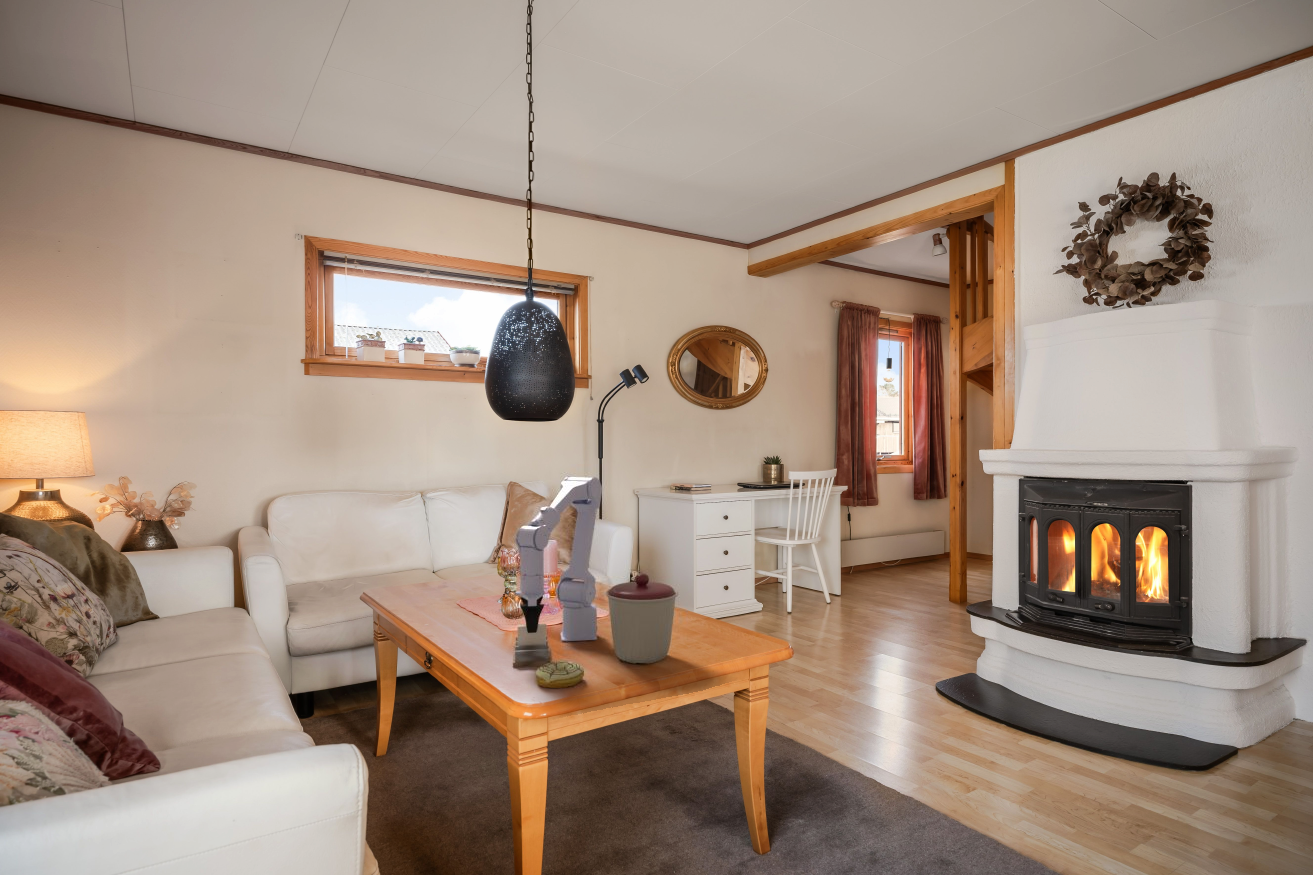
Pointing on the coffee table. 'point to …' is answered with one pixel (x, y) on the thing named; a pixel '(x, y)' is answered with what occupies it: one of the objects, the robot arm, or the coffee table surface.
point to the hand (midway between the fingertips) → (532, 628)
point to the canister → (641, 619)
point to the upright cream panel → (531, 636)
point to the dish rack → (531, 655)
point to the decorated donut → (559, 674)
